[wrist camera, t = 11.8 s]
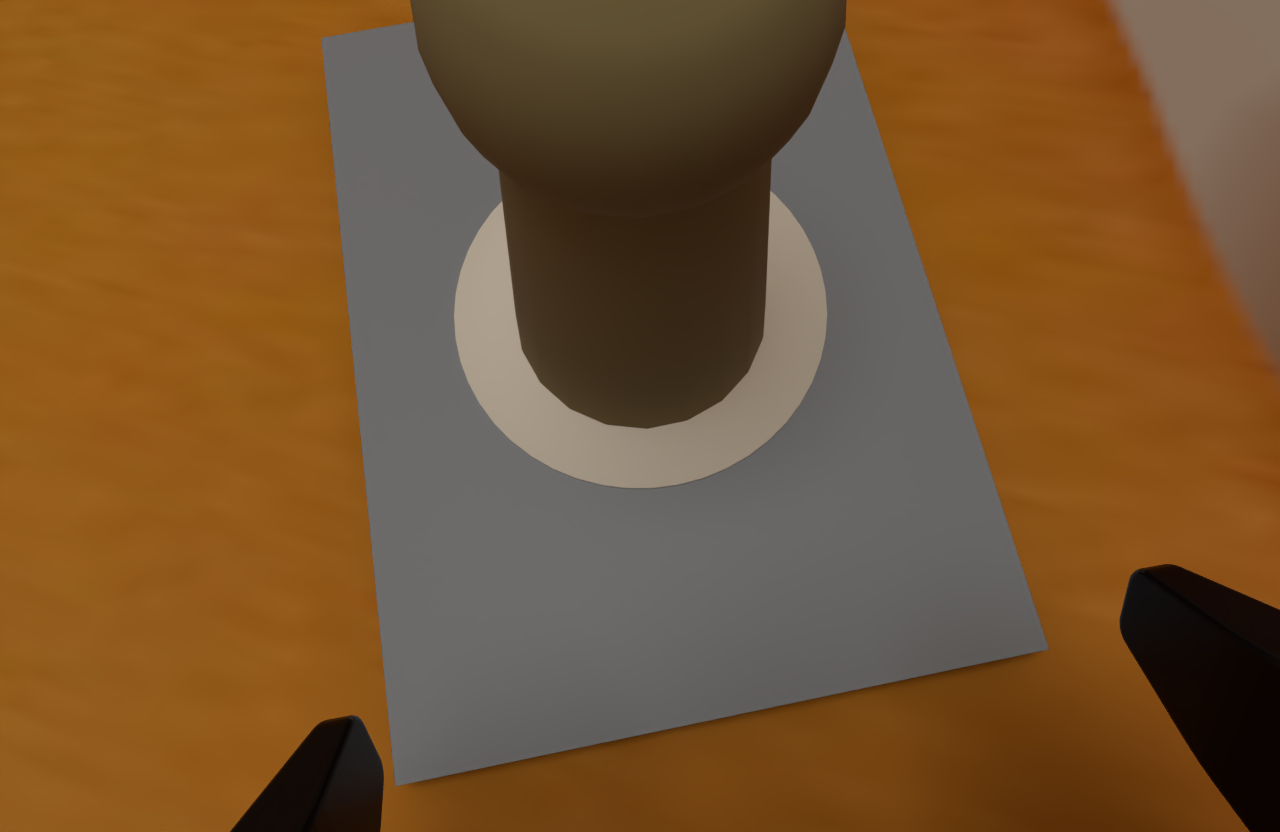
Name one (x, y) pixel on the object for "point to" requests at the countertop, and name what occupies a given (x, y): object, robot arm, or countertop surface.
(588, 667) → the board
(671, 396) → the olive rounded peg
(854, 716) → the countertop surface
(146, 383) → the countertop surface
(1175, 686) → the robot arm
